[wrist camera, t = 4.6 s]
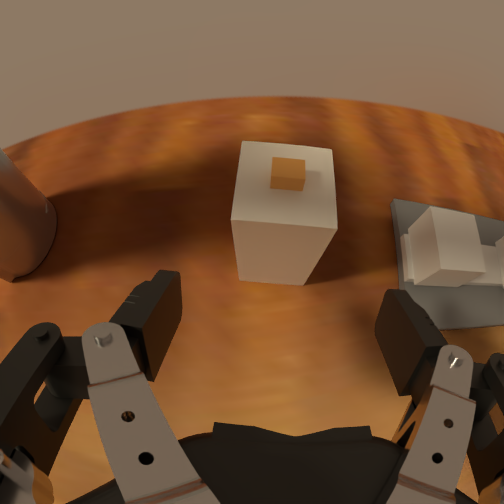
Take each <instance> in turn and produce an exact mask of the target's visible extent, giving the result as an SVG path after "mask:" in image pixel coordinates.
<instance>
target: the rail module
mask: <svg viewBox="0 0 504 504" xmlns="http://www.w3.org/2000/svg"><path fill="white" fill-rule="evenodd" d="M231 226H232V233H233V240H234V247H235V254H236V261H237V267H238V274H239V280H240V281H251V282H263V283H275V284H288V285H302V286H303V285H304V284H305V282H306V280H307V279H308V277H309V276H310V274H311V272H312V271H313V269H314V267H315V266H316V264H317V263H318V261H319V259H320V258H321V256H322V254H323V253H324V251H325V249H326V248H327V246H328V244H329V243H330V241H331V239H332V238H333V236H334V234H335V232H336V231H337V229H338V227H337V207H336V192H335V178H334V167H333V156H332V149H325V148H317V147H309V146H300V145H290V144H280V143H267V142H253V141H242V145H241V152H240V158H239V165H238V172H237V178H236V185H235V192H234V199H233V206H232V213H231Z"/></svg>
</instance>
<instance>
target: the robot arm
mask: <svg viewBox="0 0 504 504" xmlns="http://www.w3.org/2000/svg"><path fill="white" fill-rule="evenodd" d="M56 226H57V216H56V211H55V208H54V206H53V205H52V204H51V202H49V200H48V199H47V198H46V197H45V196H44V195H43V194H42V193H41V192H40V191H39V190H38V189H37V188H36V187H35V186H34V185H33V184H32V183H31V182H30V181H29V180H28V179H27V178H26V177H25V175H24V174H23V173H22V172H21V171H20V170H19V169H18V168H17V167H16V166H15V164H14V163H13V162H12V161H11V160H10V159H9V158H8V157H7V155H6V154H5V153H4V152H3V151H2V150H1V148H0V278H2V279H4V280H6V281H8V282H10V283H11V282H12V281H13V279H14V278H15V277H19V276H24V275H26V274H29V273H30V272H32V271H33V270H34V269H36V268H37V266H38V265H39V264H40V263H41V262H42V261H43V259H44V258H45V256H46V255H47V253H48V251H49V249H50V247H51V245H52V242H53V240H54V237H55V232H56ZM181 316H182V296H181V279H180V273H179V272H177V271H167V270H159V271H158V272H157V273H156V275H155V276H154V277H153V279H152V280H151V281H144V282H143V283H141V284H139V285H138V286H136V287H135V288H134V289H133V291H132V292H131V293H130V296H128V297H127V298H126V300H125V302H123V304H122V305H121V306H120V307H119V309H118V310H117V311H116V313H115V314H114V315H113V317H112V318H111V319H110V321H109V322H103V323H98V324H95V325H93V326H91V327H89V328H88V329H87V330H86V331H85V332H84V333H83V335H82V336H81V337H62V334H61V331H60V329H59V327H58V326H57V325H56V324H53V323H49V322H45V323H40V324H37V325H35V326H33V327H31V328H30V329H29V330H28V331H27V332H26V333H25V334H24V335H23V337H22V338H21V339H20V340H19V341H18V343H17V344H16V345H15V346H14V347H13V349H12V350H11V351H10V352H9V354H8V355H7V356H6V357H5V359H4V360H3V361H2V363H1V364H0V504H53V503H54V496H53V486H52V483H51V481H50V479H49V478H48V476H49V473H50V471H51V468H52V466H53V464H54V461H55V459H56V456H57V454H58V452H59V449H60V447H61V445H62V443H63V440H64V438H65V436H66V434H67V431H68V429H69V427H70V425H71V423H72V421H73V419H74V417H75V414H76V412H77V410H78V408H79V406H80V404H81V402H82V400H83V399H90V401H91V405H92V409H93V413H94V417H95V420H96V424H97V427H98V431H99V434H100V437H101V440H102V443H103V446H104V449H105V452H106V455H107V458H108V461H109V464H110V466H111V469H112V471H113V474H114V477H115V479H113V480H111V481H109V482H107V483H106V484H104V485H102V486H100V487H98V488H96V489H94V490H93V491H91V492H89V493H87V494H85V495H83V496H81V497H79V498H77V499H75V500H72V501H70V502H68V503H66V504H504V429H503V430H502V432H501V433H500V434H499V435H498V434H497V431H496V429H495V427H494V424H493V422H492V420H491V417H490V415H489V411H490V410H491V409H492V408H493V407H494V405H495V404H496V403H498V405H499V407H500V409H501V411H502V413H503V415H504V354H500V353H494V354H492V355H491V357H490V358H489V360H488V362H487V363H486V364H481V363H475V362H473V359H472V357H471V356H470V354H469V353H468V352H467V351H466V350H464V349H463V348H461V347H459V346H456V345H448V343H447V342H446V340H445V339H444V337H443V335H442V334H441V332H440V331H439V329H438V328H437V327H436V325H434V322H433V321H432V319H430V316H429V315H428V313H427V312H426V311H425V309H424V308H422V307H421V306H420V305H418V304H417V303H416V302H414V300H413V299H412V298H411V296H410V295H409V293H408V292H407V291H406V290H399V289H388V290H387V291H386V292H385V295H384V298H383V301H382V304H381V307H380V310H379V313H378V316H377V319H376V323H375V336H376V339H377V341H378V343H379V346H380V348H381V351H382V353H383V356H384V358H385V361H386V363H387V366H388V368H389V371H390V373H391V376H392V379H393V381H394V384H395V387H396V389H397V392H398V395H399V396H406V395H411V396H412V399H411V401H410V402H409V404H408V406H407V409H406V411H405V413H404V415H403V417H402V420H401V422H400V424H399V426H398V428H397V430H396V432H395V434H394V436H393V438H392V440H391V441H389V440H386V439H383V438H379V437H375V436H372V434H371V430H370V426H359V427H343V428H332V429H328V430H324V431H320V432H316V433H312V434H307V435H303V436H289V435H285V434H281V433H277V432H273V431H269V430H266V429H262V428H259V427H255V426H245V425H235V424H226V423H218V422H214V426H213V432H210V433H202V434H196V435H192V436H188V437H185V438H183V439H180V440H178V441H177V439H176V437H175V435H174V433H173V432H172V430H171V428H170V426H169V424H168V422H167V420H166V419H165V417H164V415H163V413H162V411H161V409H160V407H159V405H158V403H157V401H156V399H155V397H154V394H153V392H152V390H151V388H150V386H149V384H148V382H147V381H152V382H154V380H155V378H156V376H157V373H158V371H159V369H160V366H161V364H162V362H163V359H164V357H165V355H166V353H167V350H168V348H169V346H170V343H171V341H172V339H173V337H174V334H175V332H176V330H177V328H178V325H179V323H180V321H181ZM43 382H45V384H46V386H45V387H44V389H43V391H42V392H41V394H40V396H39V397H38V399H37V401H36V402H35V404H34V397H35V395H36V393H37V391H38V390H39V388H40V386H41V385H42V383H43ZM466 452H467V455H468V458H469V461H470V465H471V468H472V472H473V475H474V479H475V483H476V487H477V491H478V495H479V499H478V503H477V502H475V501H474V500H472V499H471V498H470V497H468V496H467V495H465V494H464V493H462V492H461V491H460V490H458V489H457V488H456V486H457V483H458V480H459V476H460V473H461V470H462V466H463V463H464V459H465V456H466Z"/></svg>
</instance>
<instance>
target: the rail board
mask: <svg viewBox="0 0 504 504" xmlns="http://www.w3.org/2000/svg"><path fill="white" fill-rule="evenodd" d="M390 206H391V213H392V220H393V227H394V235H395V244H396V253H397V264H398V277H399V290H406V291H407V292H408V293H409V295H410V296H411V298H412V299H413V300H414V302H416V303H417V304H418V305H420V306H421V307H422V308H424V309H425V311H426V312H427V313H428V315H429V316H430V319H432V321H433V322H434V325H436V327H437V328H438V329H439V330H453V329H469V328H482V327H493V326H503V325H504V221H500V220H496V219H492V218H488V217H484V216H480V215H475V214H471V213H466V212H462V211H457V210H452V209H448V208H443V207H438V206H432V205H427V204H422V203H416V202H411V201H405V200H399V199H394V200H393V201H392V202H391V204H390Z"/></svg>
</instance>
